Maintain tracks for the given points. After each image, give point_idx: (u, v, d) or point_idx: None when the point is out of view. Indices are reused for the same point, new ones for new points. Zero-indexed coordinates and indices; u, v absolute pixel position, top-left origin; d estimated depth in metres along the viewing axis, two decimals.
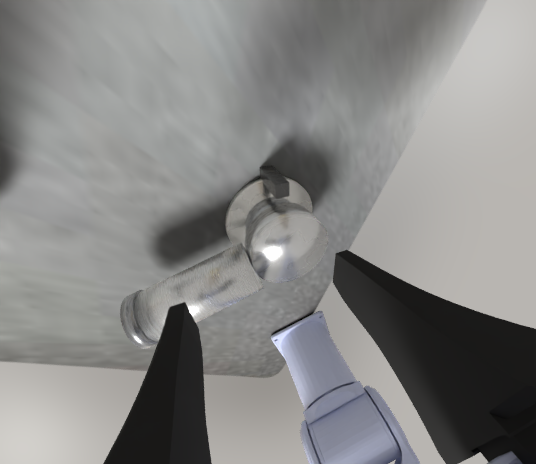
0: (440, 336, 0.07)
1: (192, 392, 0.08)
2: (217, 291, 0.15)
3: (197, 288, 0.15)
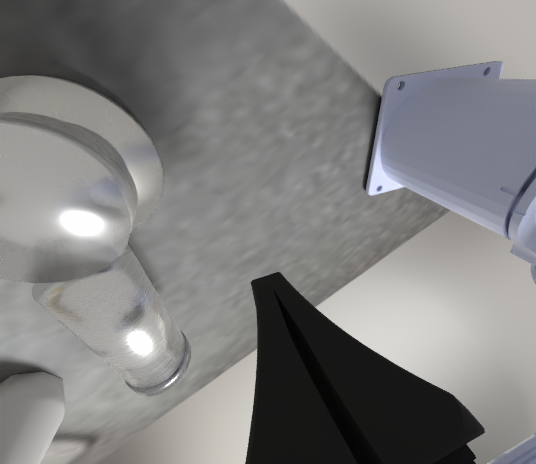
0: (331, 385, 0.06)
1: None
2: (86, 341, 0.10)
3: (88, 347, 0.11)
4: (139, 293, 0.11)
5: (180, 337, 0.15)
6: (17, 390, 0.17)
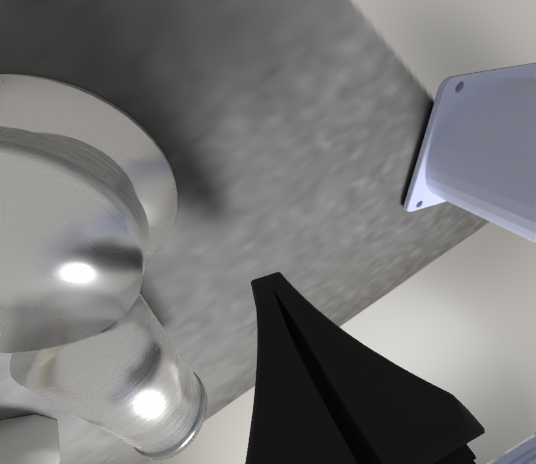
0: (331, 385, 0.06)
1: None
2: (83, 417, 0.08)
3: None
4: (151, 352, 0.09)
5: (196, 386, 0.12)
6: (3, 442, 0.14)
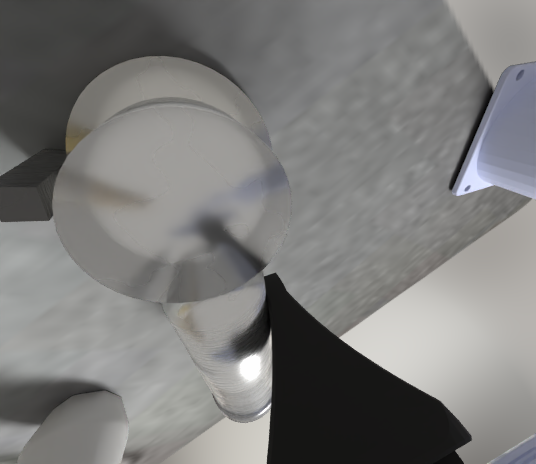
0: (319, 391, 0.06)
1: None
2: (213, 368, 0.09)
3: (203, 373, 0.10)
4: (267, 311, 0.09)
5: None
6: (84, 413, 0.15)
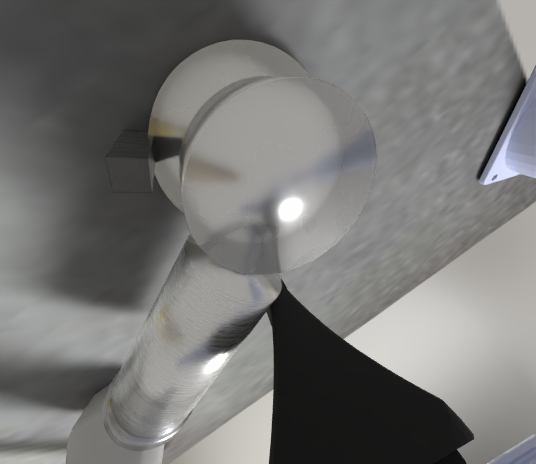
0: (320, 390, 0.06)
1: None
2: (186, 350, 0.07)
3: (155, 356, 0.08)
4: None
5: None
6: None
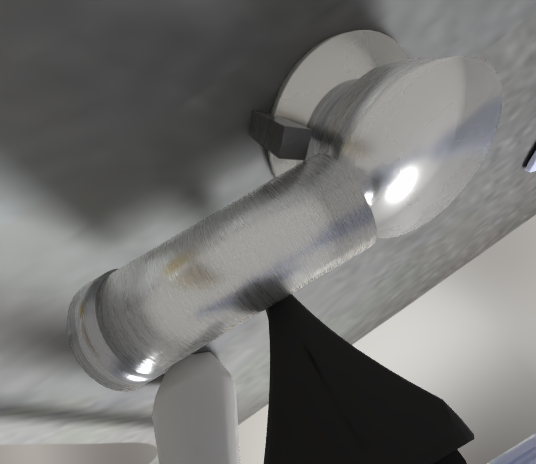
0: (321, 390, 0.06)
1: None
2: (286, 252, 0.06)
3: (238, 247, 0.06)
4: None
5: None
6: (204, 368, 0.16)
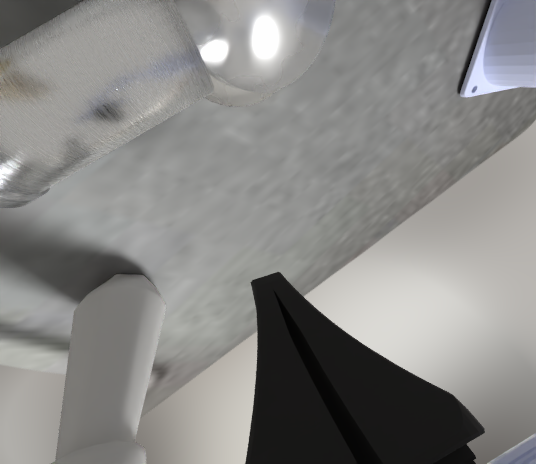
0: (330, 385, 0.06)
1: None
2: (89, 40, 0.07)
3: (42, 36, 0.07)
4: (177, 108, 0.09)
5: (67, 176, 0.10)
6: (129, 281, 0.17)
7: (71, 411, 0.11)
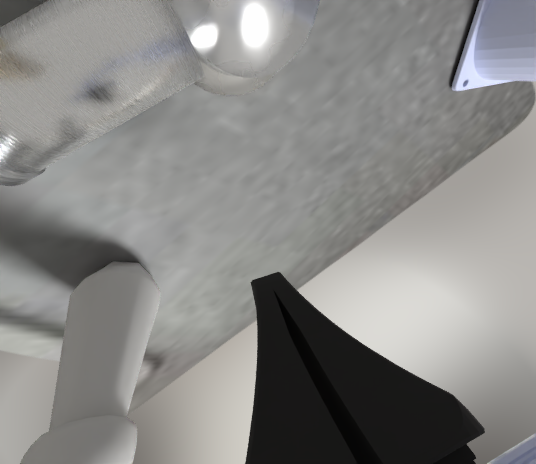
0: (330, 385, 0.06)
1: None
2: (81, 21, 0.07)
3: (36, 16, 0.07)
4: (168, 91, 0.09)
5: (62, 157, 0.10)
6: (124, 267, 0.17)
7: (65, 387, 0.12)
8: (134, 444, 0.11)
